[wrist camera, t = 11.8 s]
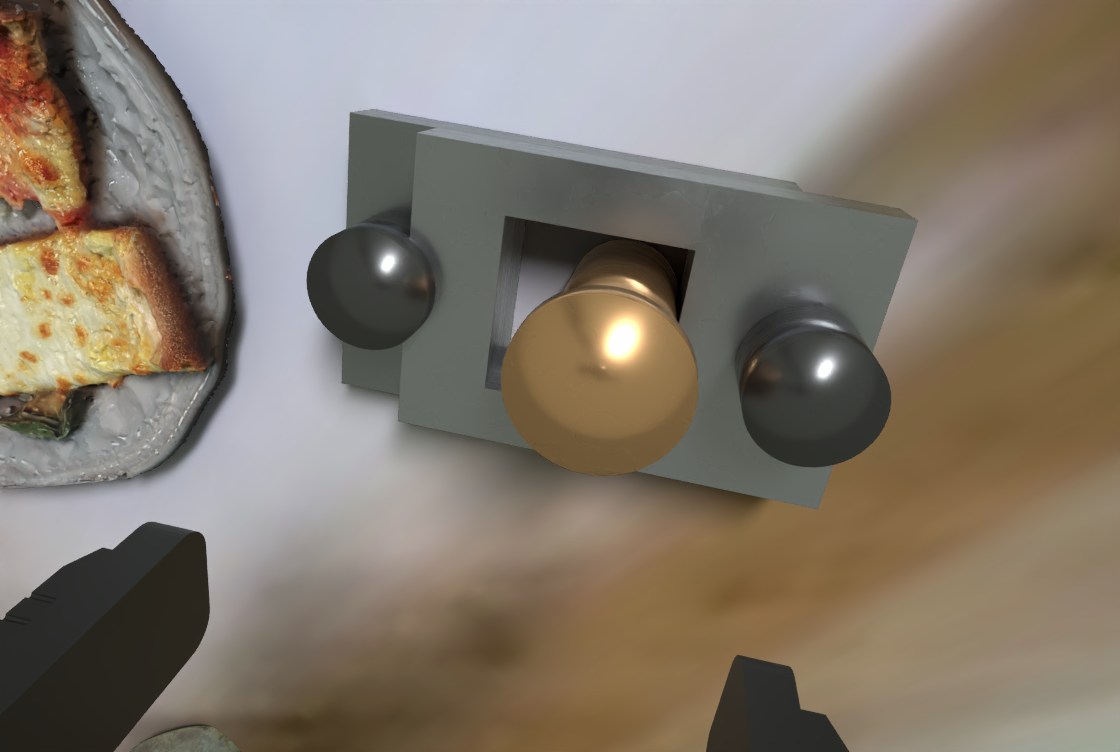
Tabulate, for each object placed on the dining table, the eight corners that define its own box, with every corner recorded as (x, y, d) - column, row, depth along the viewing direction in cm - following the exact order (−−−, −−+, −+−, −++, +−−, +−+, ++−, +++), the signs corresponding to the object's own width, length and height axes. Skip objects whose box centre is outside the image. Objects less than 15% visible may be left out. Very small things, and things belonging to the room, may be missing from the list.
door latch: (362, 363, 30) (276, 442, 24) (373, 109, 26) (273, 123, 20) (801, 453, 29) (834, 563, 23) (883, 198, 25) (952, 243, 19)
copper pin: (545, 343, 29) (490, 454, 21) (566, 210, 27) (513, 275, 19) (677, 369, 28) (674, 493, 20) (708, 237, 26) (719, 315, 18)
